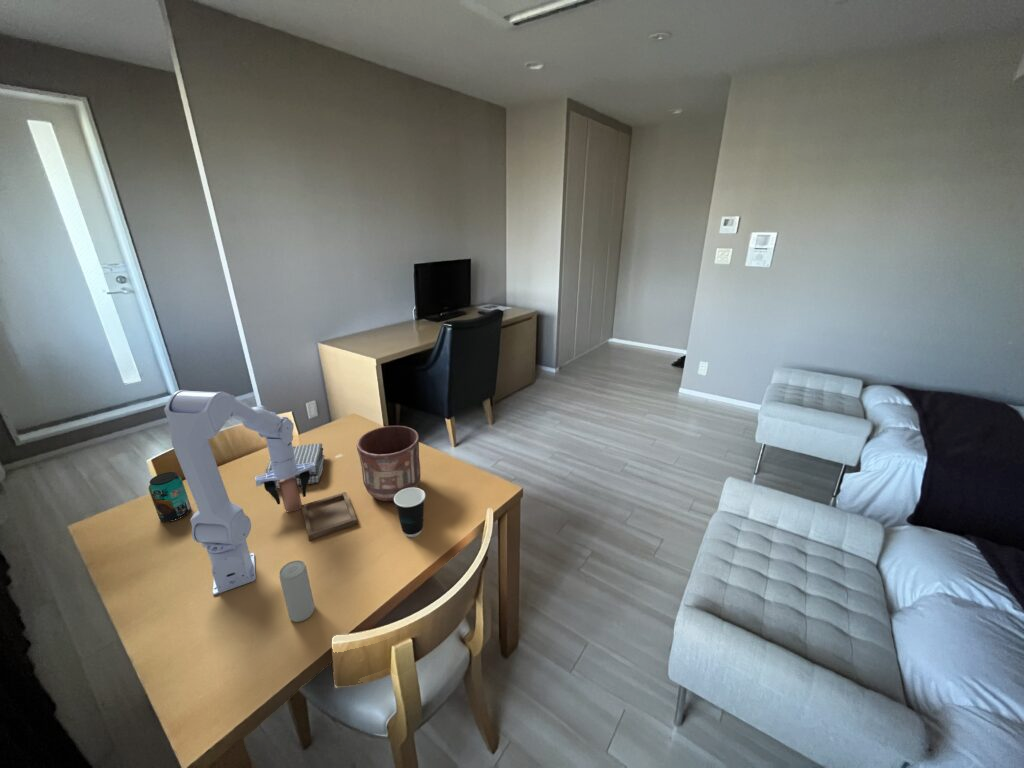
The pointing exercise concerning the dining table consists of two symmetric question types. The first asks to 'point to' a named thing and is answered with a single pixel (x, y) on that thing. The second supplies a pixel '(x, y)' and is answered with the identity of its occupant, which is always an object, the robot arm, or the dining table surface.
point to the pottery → (389, 460)
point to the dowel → (290, 494)
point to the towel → (306, 461)
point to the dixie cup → (410, 510)
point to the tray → (328, 515)
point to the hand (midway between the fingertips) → (291, 498)
